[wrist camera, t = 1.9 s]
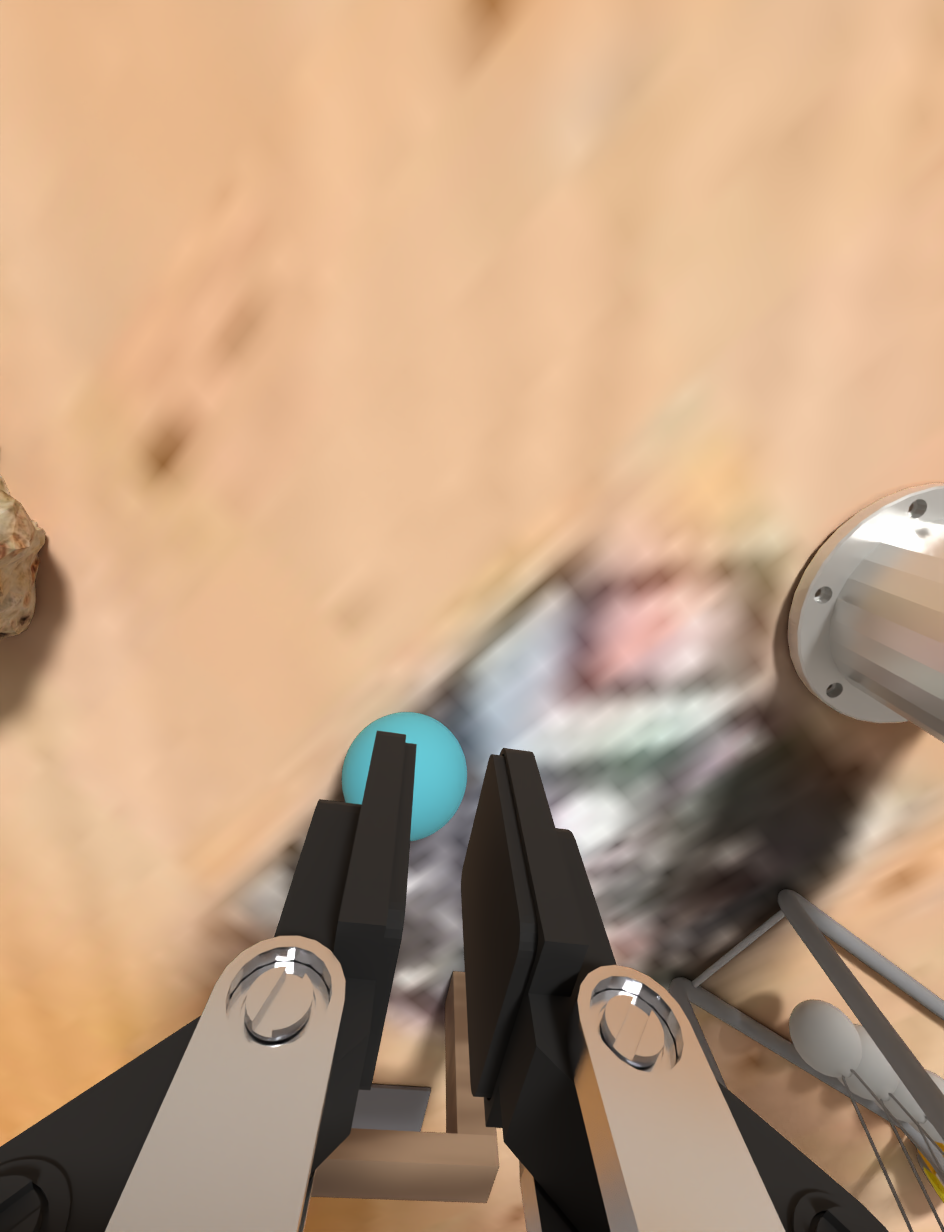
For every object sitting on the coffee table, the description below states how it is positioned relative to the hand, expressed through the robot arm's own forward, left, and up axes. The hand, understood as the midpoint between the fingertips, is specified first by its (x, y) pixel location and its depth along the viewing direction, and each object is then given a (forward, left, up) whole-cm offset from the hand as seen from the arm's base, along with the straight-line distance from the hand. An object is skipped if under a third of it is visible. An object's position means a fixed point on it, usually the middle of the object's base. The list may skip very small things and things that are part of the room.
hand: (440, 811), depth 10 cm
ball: (0, +10, -14) cm, 17 cm away
